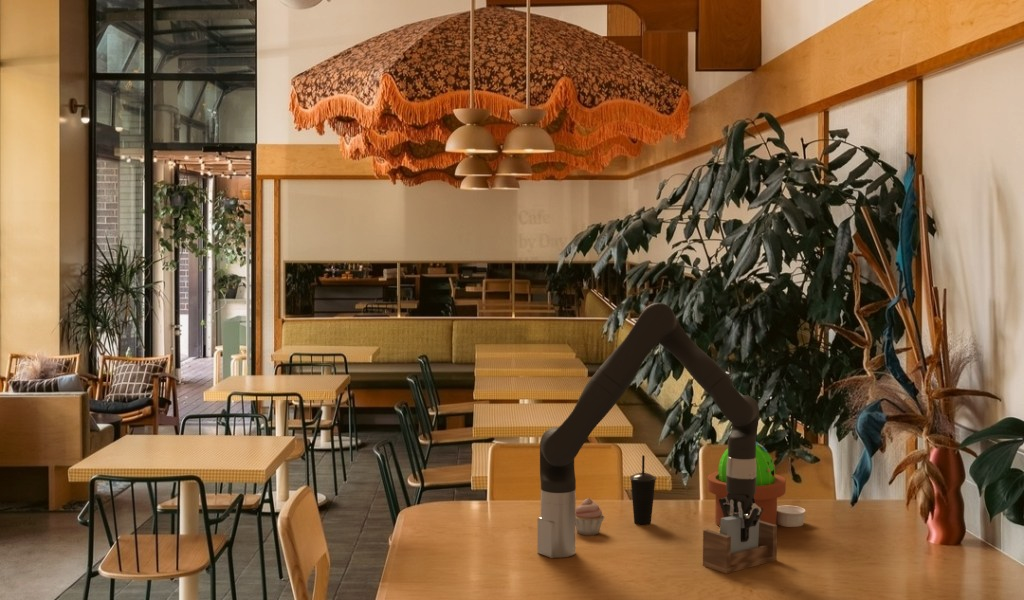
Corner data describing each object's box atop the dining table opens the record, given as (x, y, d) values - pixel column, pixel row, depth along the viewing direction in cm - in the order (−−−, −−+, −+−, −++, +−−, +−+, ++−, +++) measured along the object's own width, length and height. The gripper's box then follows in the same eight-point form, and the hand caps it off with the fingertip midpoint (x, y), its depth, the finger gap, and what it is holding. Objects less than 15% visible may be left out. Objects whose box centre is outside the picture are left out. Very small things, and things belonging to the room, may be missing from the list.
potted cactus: (697, 528, 315) (698, 442, 313) (720, 510, 335) (721, 429, 333) (773, 538, 305) (775, 450, 303) (792, 519, 324) (794, 436, 323)
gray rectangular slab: (726, 559, 279) (727, 520, 278) (718, 556, 281) (720, 518, 280) (757, 552, 286) (759, 514, 285) (750, 550, 288) (752, 512, 287)
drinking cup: (647, 528, 315) (648, 459, 313) (624, 523, 319) (625, 456, 318) (660, 522, 321) (661, 455, 320) (638, 518, 326) (638, 451, 324)
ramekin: (808, 528, 316) (808, 513, 316) (777, 527, 316) (777, 513, 316) (801, 519, 325) (801, 505, 325) (771, 519, 325) (771, 505, 325)
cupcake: (593, 539, 304) (593, 503, 303) (565, 533, 310) (565, 498, 309) (611, 531, 312) (611, 497, 311) (583, 526, 317) (583, 492, 316)
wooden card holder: (726, 573, 275) (726, 537, 274) (702, 565, 281) (703, 530, 280) (776, 560, 286) (777, 525, 285) (752, 552, 292) (753, 518, 292)
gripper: (711, 470, 285) (710, 536, 286) (752, 481, 274) (750, 549, 275) (731, 467, 290) (729, 531, 291) (772, 477, 278) (770, 544, 280)
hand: (740, 540), depth 283 cm, fingers closed on gray rectangular slab, 2 cm apart
